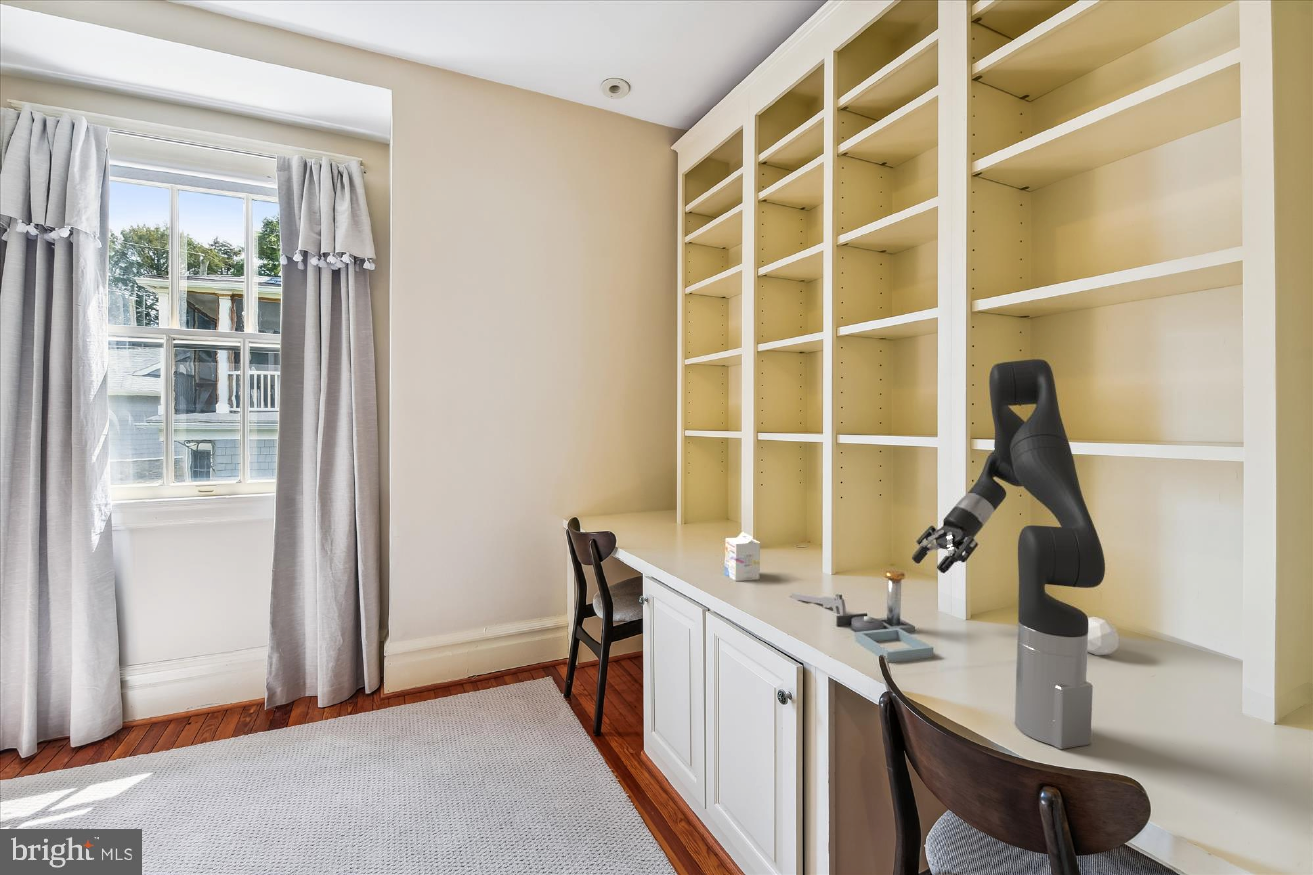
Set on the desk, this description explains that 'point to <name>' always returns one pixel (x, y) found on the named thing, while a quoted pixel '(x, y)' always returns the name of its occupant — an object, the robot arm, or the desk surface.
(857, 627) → the plate
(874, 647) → the tray
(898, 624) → the pin
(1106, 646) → the geometric ball
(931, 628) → the desk surface
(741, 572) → the ink box
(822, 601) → the caliper
